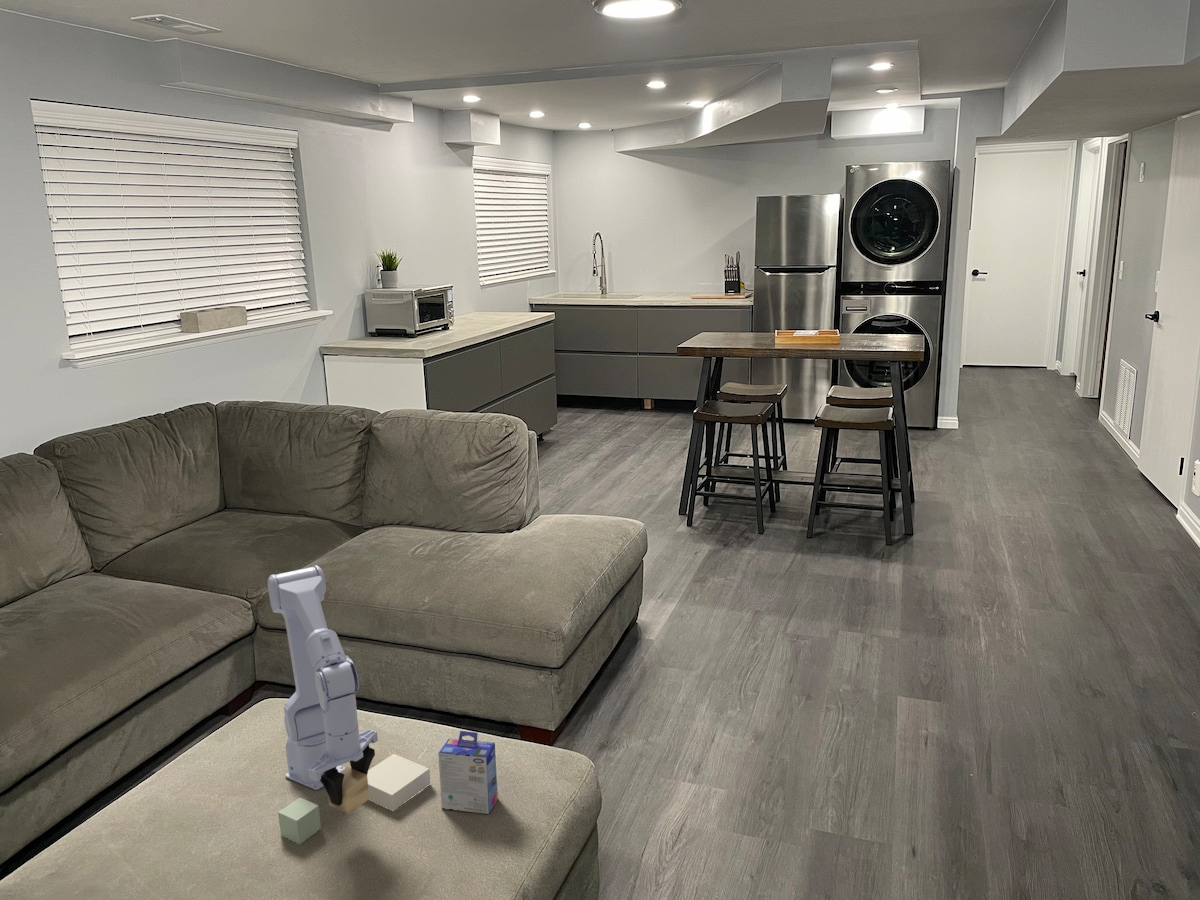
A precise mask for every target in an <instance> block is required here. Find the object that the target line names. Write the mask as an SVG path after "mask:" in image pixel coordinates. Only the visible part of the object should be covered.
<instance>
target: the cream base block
mask: <svg viewBox="0 0 1200 900" xmlns="http://www.w3.org/2000/svg"><path fill="white" fill-rule="evenodd" d="M430 772H431V771H430V768H428V766H427V767H426V766H424V765H422V764H419V763H417V762H414V761H412V760H410V759H407V758H405V757H403V756H400V755H398V754H396V753H392V754H391V755H390V756H388V757H386V758H385V759H383V760H382V761H380V762H379V763H378V764H376V765H374V766H373V767H371V768H369V770H368V774H367V779H368V790H369V799H370V800H372V801H374V802H376V803H378V804H381V805H382V806H384V807H387V808H388V809H391V810H393V811H394V810H395V809H397V808H398V807H399V806H400V805H402V804H403V803H404V802H405V801H407V800H408V799H410V798H411V797H412V796H414V795H415V794H417V793H418V792H419V791H421V790H422V789H424V788H425V787H426V786H427V785H429V784H430V783H431V773H430ZM424 790H425V789H424ZM376 803H375V804H376ZM378 804H377V805H378ZM382 806H381V807H382ZM402 806H403V805H402ZM384 807H383V808H384ZM388 809H387V810H388ZM398 809H399V808H398ZM398 809H397V810H398ZM394 812H395V811H394Z"/></svg>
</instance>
